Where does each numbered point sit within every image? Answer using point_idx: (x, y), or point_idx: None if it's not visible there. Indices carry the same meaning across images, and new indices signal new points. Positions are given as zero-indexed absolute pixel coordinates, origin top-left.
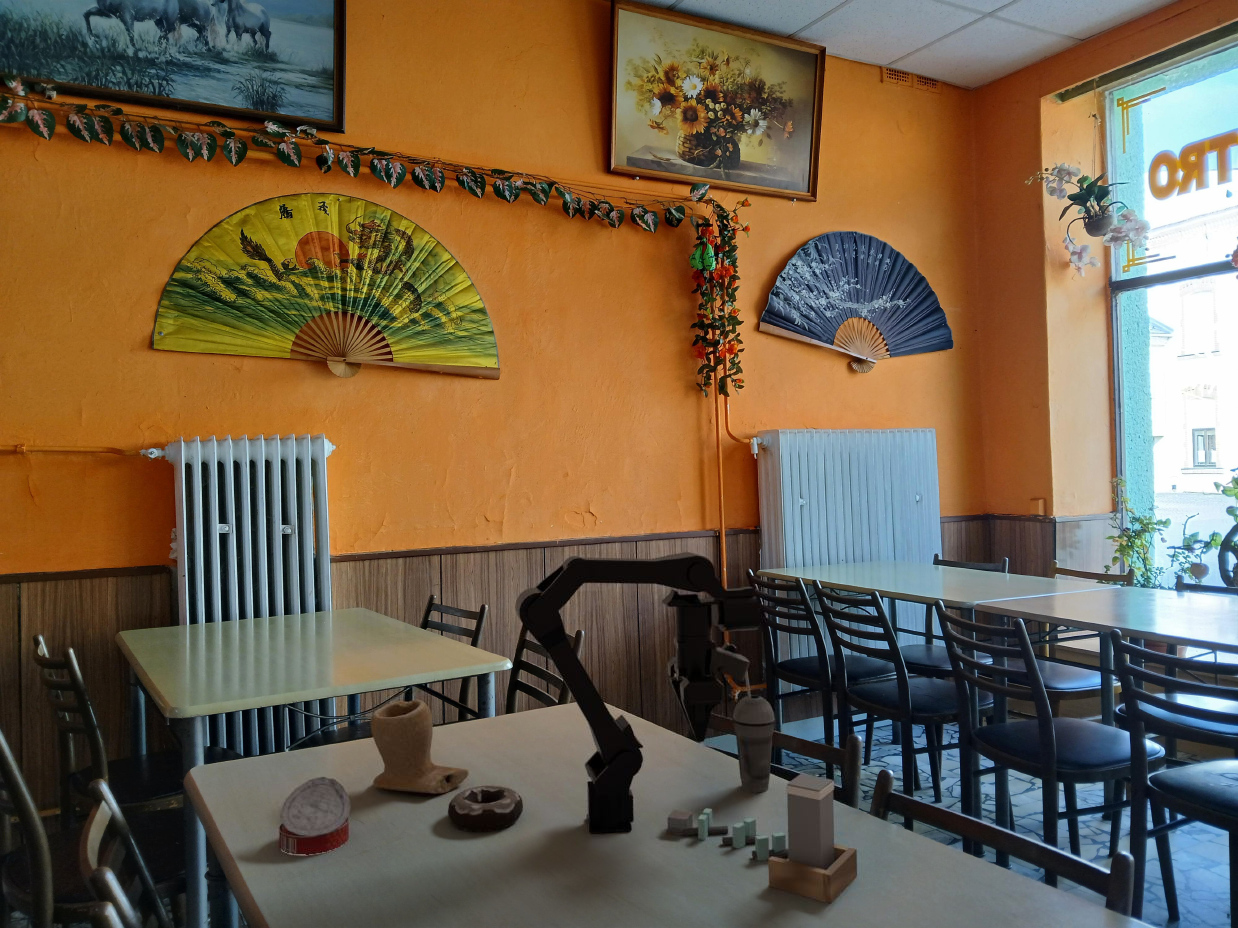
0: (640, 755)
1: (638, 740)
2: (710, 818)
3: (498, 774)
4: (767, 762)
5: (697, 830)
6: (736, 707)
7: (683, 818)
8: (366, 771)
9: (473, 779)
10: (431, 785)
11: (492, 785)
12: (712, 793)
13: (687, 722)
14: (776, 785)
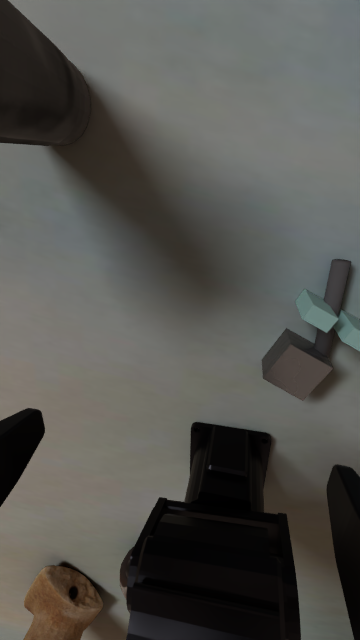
0: (282, 587)
1: (216, 609)
2: (323, 305)
3: (21, 521)
4: (26, 20)
5: (333, 333)
6: None
7: (321, 372)
8: (24, 608)
9: (40, 545)
10: (96, 609)
11: (126, 589)
12: (95, 234)
13: (40, 440)
14: (38, 19)
